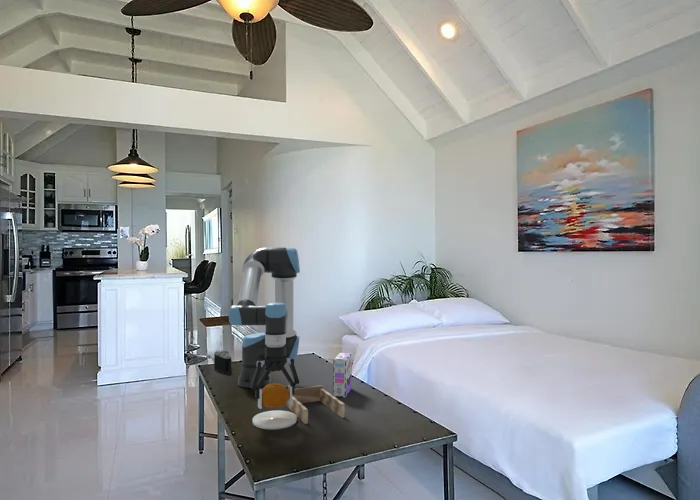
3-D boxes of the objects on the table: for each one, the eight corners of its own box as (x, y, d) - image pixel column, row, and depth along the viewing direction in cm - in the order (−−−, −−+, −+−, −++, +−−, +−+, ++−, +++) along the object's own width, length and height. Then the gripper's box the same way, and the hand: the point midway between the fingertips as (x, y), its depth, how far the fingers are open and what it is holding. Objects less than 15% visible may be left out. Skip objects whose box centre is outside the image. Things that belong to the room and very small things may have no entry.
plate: (248, 417, 172) (248, 413, 172) (289, 411, 179) (289, 407, 179) (258, 432, 157) (258, 428, 157) (302, 425, 164) (302, 421, 164)
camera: (237, 371, 239) (237, 351, 239) (225, 373, 235) (225, 353, 235) (224, 365, 250) (224, 347, 250) (212, 367, 246) (212, 349, 246)
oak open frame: (285, 404, 187) (285, 389, 187) (321, 399, 193) (321, 385, 194) (304, 423, 166) (304, 407, 166) (344, 417, 173) (344, 401, 173)
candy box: (345, 398, 196) (346, 359, 196) (332, 397, 197) (332, 358, 197) (352, 388, 209) (352, 352, 209) (339, 387, 210) (339, 352, 210)
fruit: (284, 411, 163) (284, 389, 163) (255, 409, 165) (256, 387, 165) (292, 402, 173) (292, 381, 173) (265, 400, 175) (265, 379, 175)
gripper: (246, 349, 160) (245, 413, 160) (308, 344, 170) (308, 404, 170) (241, 345, 167) (241, 406, 166) (301, 341, 177) (301, 398, 176)
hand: (275, 405), depth 168 cm, fingers closed on fruit, 11 cm apart
